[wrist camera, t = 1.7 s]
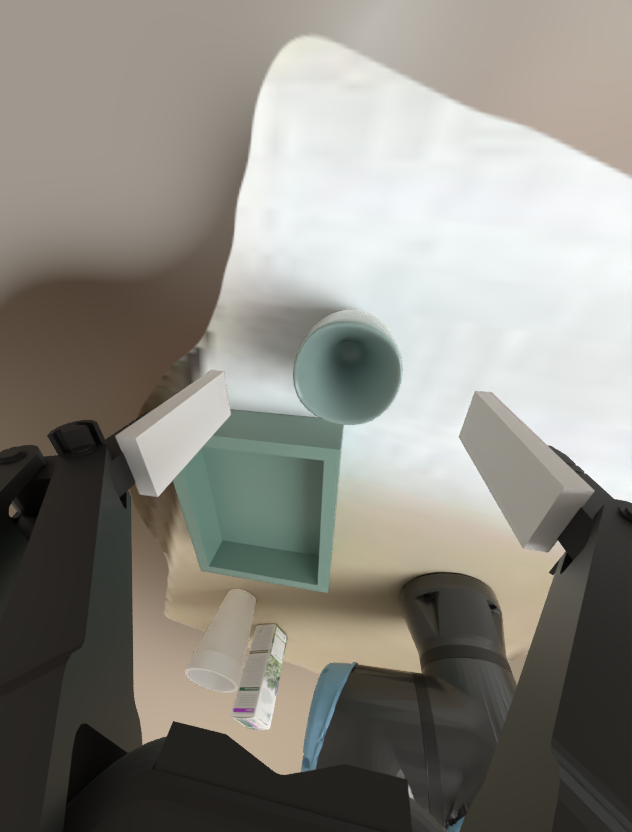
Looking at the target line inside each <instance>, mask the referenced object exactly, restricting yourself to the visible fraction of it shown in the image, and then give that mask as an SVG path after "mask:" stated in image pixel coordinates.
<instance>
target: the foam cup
mask: <svg viewBox="0 0 632 832" xmlns="http://www.w3.org/2000/svg"><path fill="white" fill-rule="evenodd" d="M255 606H256V598H255V597H254V596H253V595H252V594H251V593H249V592H247V591H245V590H241V589H231V590H229V591H228V593H227V594H226V596H225V598H224V600H223V602H222V604H221V605H220V607H219V609H218V611H217V613H216V614H215V616H214V618H213V620H212V622H211V623H210V625H209V627H208V629H207V631H206V632H205V634H204V636H203V638H202V640H201V641H200V643H199V645H198V647H197V649H196V650H195V652H193V654H192V657H191V659H190V661H189V663H188V665H187V668H186V670H185V675H186V676H187V678H188V679H189V680H191V681H193V682H194V683H196V684H197V685H200V686H202V687H204V688H207V689H210V690H214V691H218V692H225V693H231V692H235V691H237V689H238V688H239V684H240V681H241V677H242V674H243V671H244V669H243V666H244V661H245V656H246V651H247V646H248V641H249V636H250V631H251V626H252V621H253V616H254V611H255Z"/></svg>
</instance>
